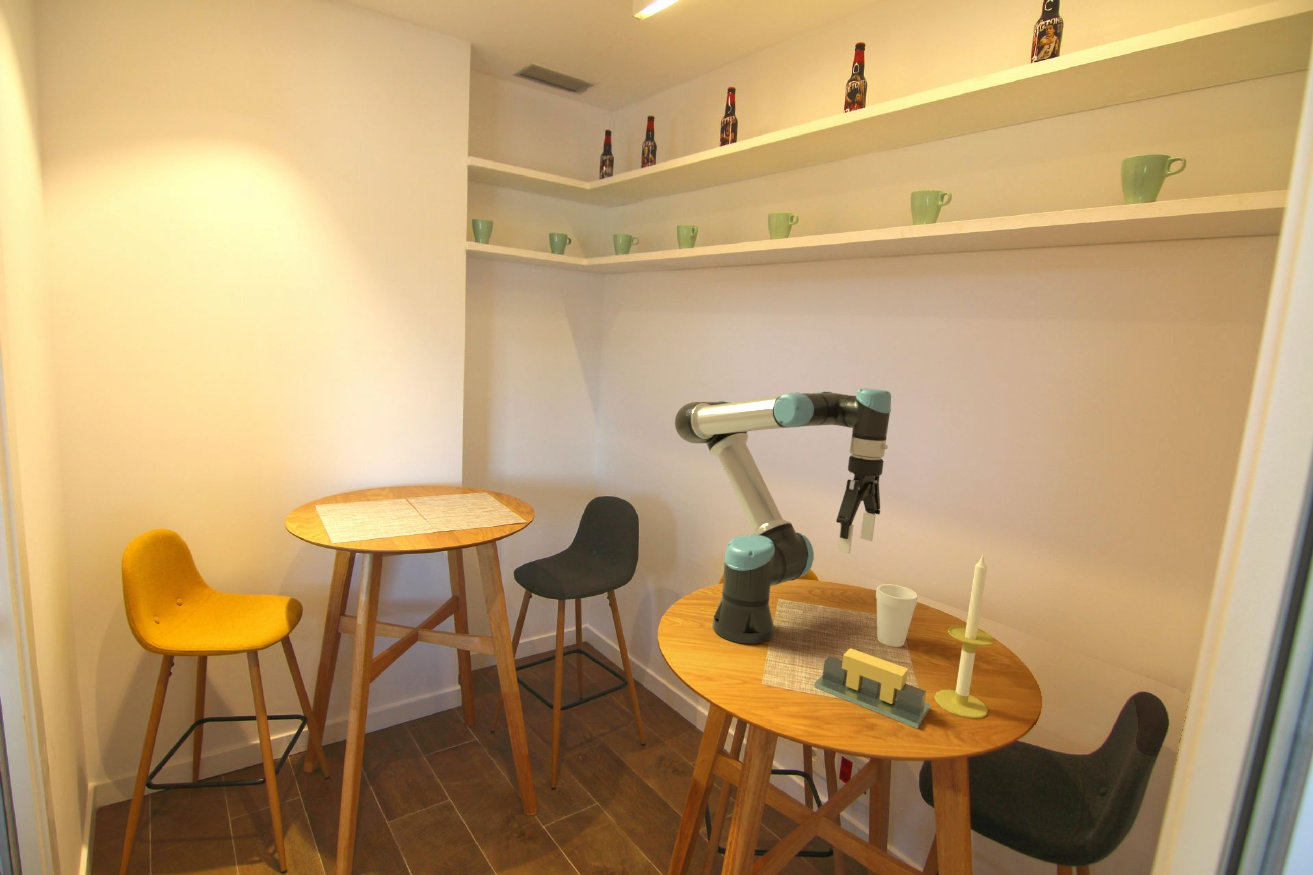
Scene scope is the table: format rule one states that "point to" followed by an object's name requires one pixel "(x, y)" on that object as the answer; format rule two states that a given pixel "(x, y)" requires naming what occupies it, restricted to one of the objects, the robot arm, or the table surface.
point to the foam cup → (894, 613)
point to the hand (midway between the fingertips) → (855, 545)
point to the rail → (874, 695)
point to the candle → (968, 654)
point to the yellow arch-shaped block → (874, 673)
